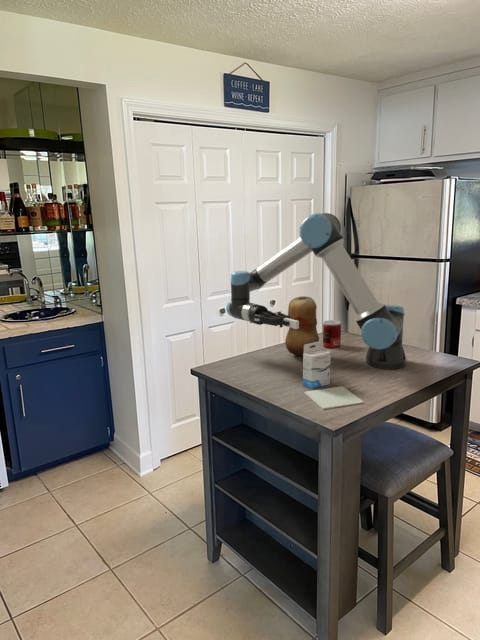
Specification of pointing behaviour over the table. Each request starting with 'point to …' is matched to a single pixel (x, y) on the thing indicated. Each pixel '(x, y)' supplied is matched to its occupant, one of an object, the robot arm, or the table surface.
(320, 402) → the sage mat
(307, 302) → the butternut squash
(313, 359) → the ink box
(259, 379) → the table surface
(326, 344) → the canned food
